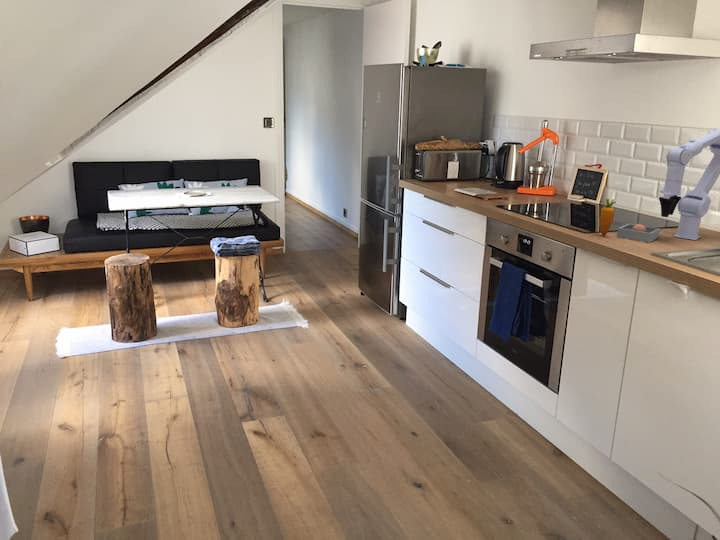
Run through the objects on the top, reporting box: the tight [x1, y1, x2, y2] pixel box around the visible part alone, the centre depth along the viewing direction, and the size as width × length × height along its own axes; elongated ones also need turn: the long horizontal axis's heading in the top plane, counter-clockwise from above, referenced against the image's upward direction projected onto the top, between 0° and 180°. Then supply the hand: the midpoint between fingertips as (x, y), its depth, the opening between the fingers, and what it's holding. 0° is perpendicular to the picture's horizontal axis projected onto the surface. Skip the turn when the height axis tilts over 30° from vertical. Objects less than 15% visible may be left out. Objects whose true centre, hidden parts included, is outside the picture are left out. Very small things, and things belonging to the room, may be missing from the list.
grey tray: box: [616, 223, 661, 244], centre depth 235 cm, size 14×12×4 cm
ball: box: [632, 223, 646, 232], centre depth 234 cm, size 5×5×5 cm
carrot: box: [599, 197, 617, 237], centre depth 231 cm, size 5×5×15 cm
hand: (666, 215), depth 231 cm, fingers open, 7 cm apart
